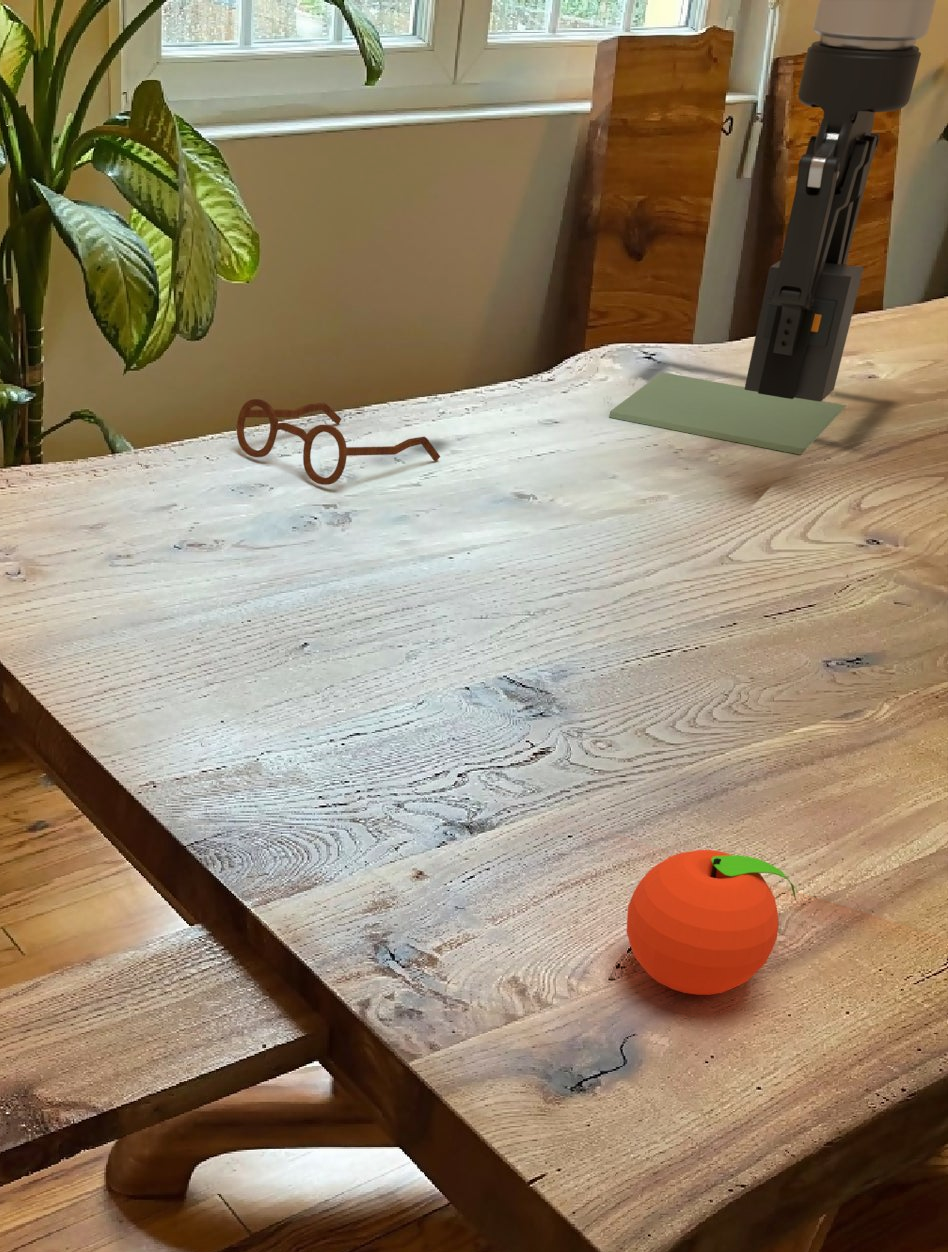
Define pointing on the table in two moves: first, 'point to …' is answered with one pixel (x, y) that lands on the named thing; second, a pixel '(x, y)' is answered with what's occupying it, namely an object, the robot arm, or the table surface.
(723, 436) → the mat
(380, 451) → the glasses
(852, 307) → the clock
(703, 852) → the clementine
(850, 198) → the robot arm
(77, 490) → the table surface
